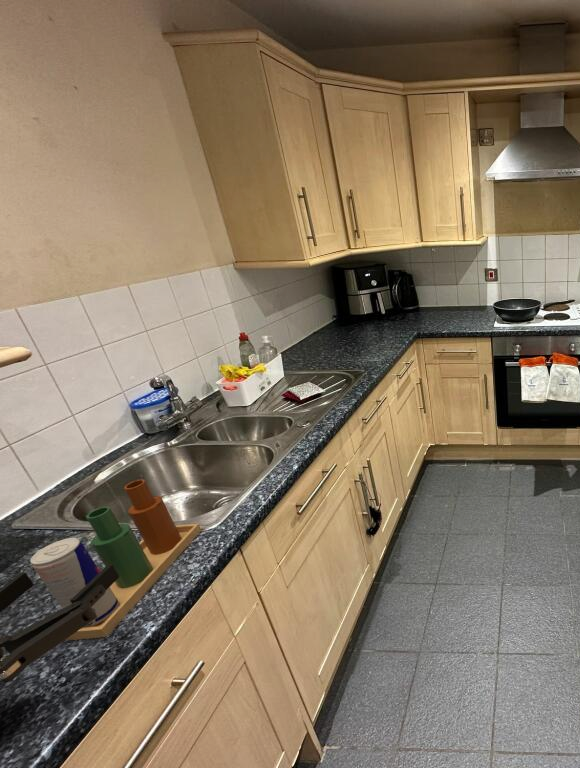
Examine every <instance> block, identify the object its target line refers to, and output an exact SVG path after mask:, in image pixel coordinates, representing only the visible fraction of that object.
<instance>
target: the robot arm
mask: <svg viewBox="0 0 580 768" xmlns="http://www.w3.org/2000/svg"><path fill="white" fill-rule="evenodd" d="M118 578H119V575H118V573H117V572H116V570H115V568H114V567H113V565H107V566H106V567H105V566H104V568H103V569H101V571H100V573H99V574H98V575H96V576H95V577H94V578H93V579H92V580H91V581H90V582H89V583H88V584H87V585H86V586H85V587H84V588H83V589H82V590H80V591H79V592H78V593H77V594H76V595H75V596H74V597H73V598H72V599H71V600H70V602H71V603H72V604H70V605H69V606H67V607H65V608H63V609H62V608H61V609H60V610H58V611H55V612H54V613H52V614H50V615H47V616H46V617H45V618H42V619H41V620H38V621H37V622H35V623H33V624H31V625H29V626H28V627H26V628H24V629H22V630H20V631H18V632H16V633H14V634H12V635H4V636H1V637H0V682H1V683H2V684H7V683H9V682H11V681H13V680H14V679H15V678H16V677H17V676H18V675H20V673H22V672H23V671H24V670H25V669H26V668H27V667H28V666H29V665H32V663H34V662H35V661H37V660H38V659H39V658H41V657H42V656H44V655H45V654H46V653H48V652H49V651H51V650H53V649H55V647H57V646H58V645H60V644H61V643H62V642H64V640H65V639H67V638H68V637H70V636H71V635H73V634H74V633H75V632H77V631H78V630H80V629H81V628H83V627H84V626H86V625H87V624H88V623H90V622H91V621H93V620H94V619H95V618H96V617H97V615H96V614H95V612H94V610H93V609H92V606H93V605H94V604H95V603H96V602H97V601H98V600H99V599H100V598H101V597H102V596H103V595H104V594H105V592H106V590H107V589H108V588H109V587H110V586H111V585H112V584H113V583H114V582H115V581H116V580H117V579H118ZM33 586H35V584H34V582H33V581H32V580H31V578H30V577H29V576H28V574H27V573H26V572H19V574H18V575H16V576H15V577H14V578H12V579H10V581H8V582H7V583H6V584H4V585H3V586H2V587H0V614H1V613H2V612H3V611H4V610H6V609H7V608H8V607H9V606H10V605H11V604H13V603H14V602H15V601H17V599H19V598H20V597H21V596H23V595H24V594H25V593H26V592H27V591H28V590H29V589H31V588H32V587H33ZM3 648H4V649H5V650H6V651H7V652H8V654H7V655H5V650H4V649H3Z"/></svg>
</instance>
